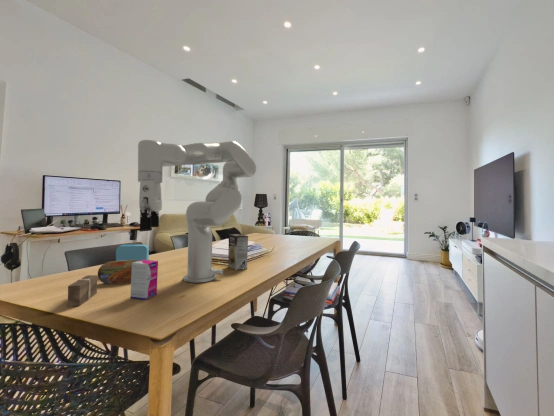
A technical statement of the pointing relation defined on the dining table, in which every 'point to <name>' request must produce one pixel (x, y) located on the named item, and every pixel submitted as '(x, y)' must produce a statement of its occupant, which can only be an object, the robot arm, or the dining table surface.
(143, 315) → the dining table surface
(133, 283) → the supplement box
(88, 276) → the brown rectangular block
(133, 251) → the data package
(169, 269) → the dining table surface
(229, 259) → the coffee box
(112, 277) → the tin
